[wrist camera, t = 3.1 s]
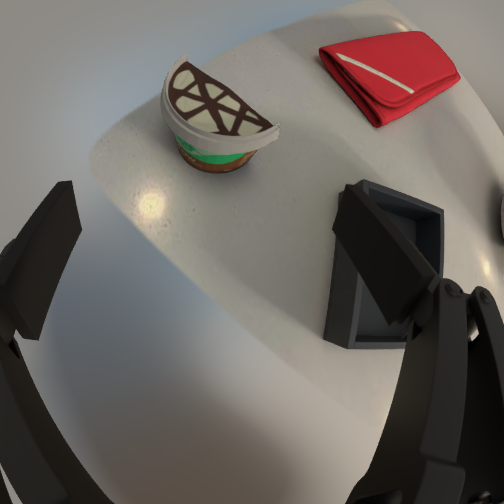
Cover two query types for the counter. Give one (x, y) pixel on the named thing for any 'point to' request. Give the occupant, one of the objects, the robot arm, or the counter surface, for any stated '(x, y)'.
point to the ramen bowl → (502, 216)
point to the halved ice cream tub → (211, 120)
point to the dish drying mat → (390, 72)
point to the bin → (354, 288)
